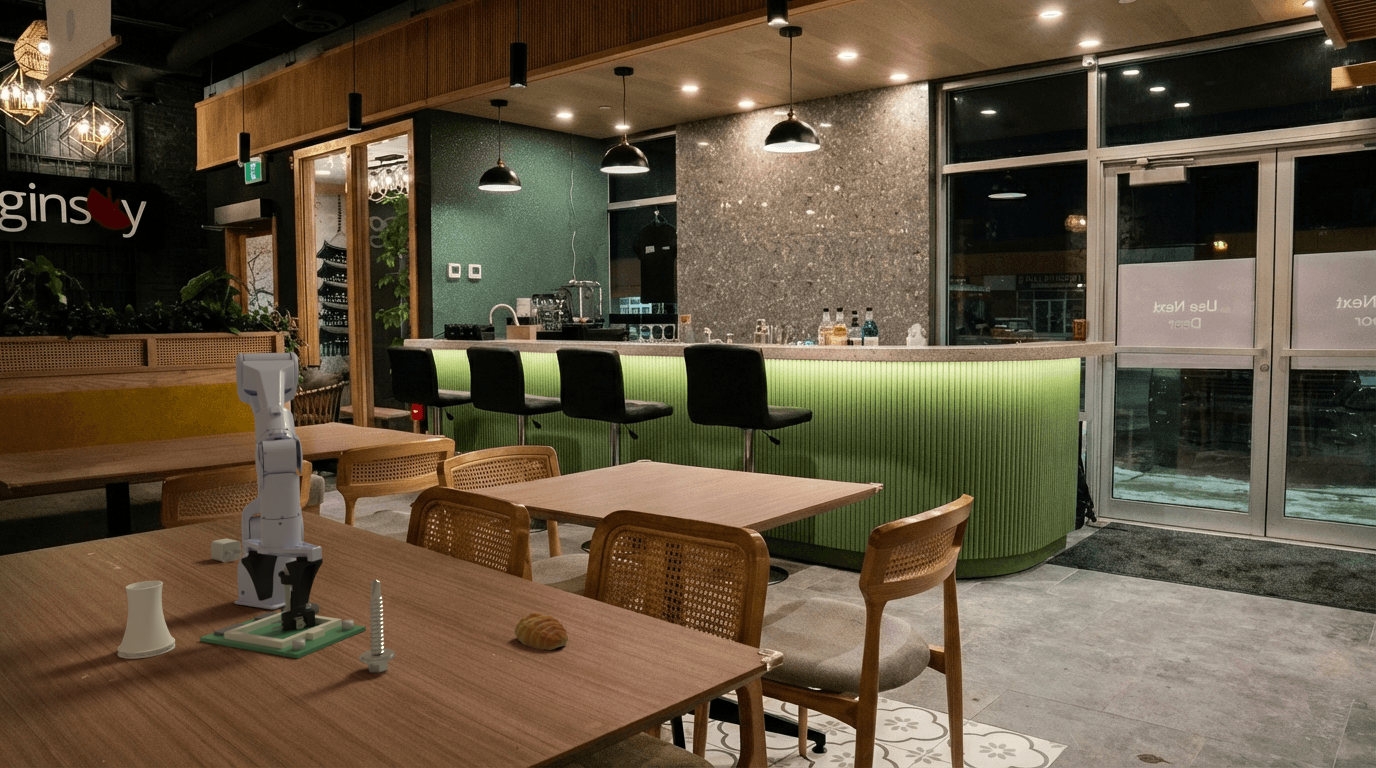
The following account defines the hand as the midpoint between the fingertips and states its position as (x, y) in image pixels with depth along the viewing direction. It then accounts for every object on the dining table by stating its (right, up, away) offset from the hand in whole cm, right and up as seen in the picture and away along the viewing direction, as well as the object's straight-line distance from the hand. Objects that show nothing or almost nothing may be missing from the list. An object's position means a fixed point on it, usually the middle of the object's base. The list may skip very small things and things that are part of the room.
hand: (283, 601), depth 147 cm
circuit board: (0, -5, 0) cm, 5 cm away
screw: (+20, -6, -15) cm, 25 cm away
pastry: (+41, -6, -2) cm, 42 cm away
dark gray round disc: (-2, -5, +12) cm, 14 cm away
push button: (+1, -5, +2) cm, 5 cm away
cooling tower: (-18, -6, -6) cm, 20 cm away
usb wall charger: (-33, -3, +49) cm, 59 cm away
